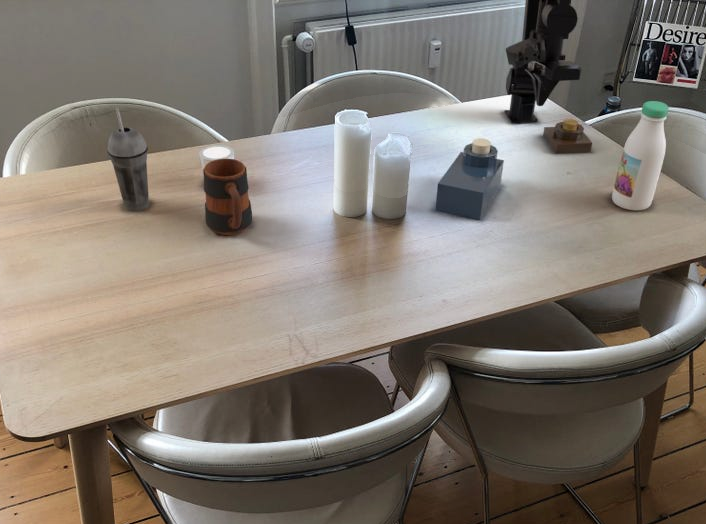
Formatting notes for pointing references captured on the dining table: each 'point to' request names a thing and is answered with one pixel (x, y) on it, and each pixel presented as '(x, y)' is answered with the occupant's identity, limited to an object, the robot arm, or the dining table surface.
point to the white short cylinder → (481, 146)
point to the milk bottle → (642, 159)
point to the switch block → (567, 139)
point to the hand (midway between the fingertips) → (539, 105)
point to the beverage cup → (130, 165)
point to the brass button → (570, 124)
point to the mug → (227, 197)
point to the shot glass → (215, 154)
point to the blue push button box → (470, 183)
